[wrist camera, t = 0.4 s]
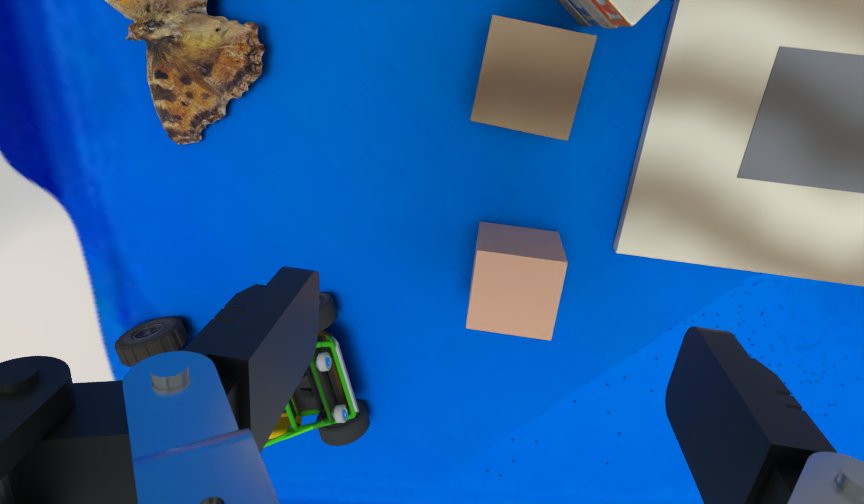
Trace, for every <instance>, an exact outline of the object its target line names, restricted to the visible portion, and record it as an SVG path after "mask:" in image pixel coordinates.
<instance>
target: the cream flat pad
mask: <svg viewBox="0 0 864 504" xmlns="http://www.w3.org/2000/svg"><path fill="white" fill-rule="evenodd" d="M613 248H614V250H615V252H616V253H620V254H627V255H635V256H642V257H650V258H657V259H664V260H672V261H679V262H687V263H694V264H702V265H709V266H716V267H724V268H731V269H739V270H746V271H754V272H761V273H769V274H776V275H783V276H791V277H798V278H806V279H813V280H821V281H828V282H835V283H843V284H850V285H858V286H864V0H674V4H673V8H672V12H671V16H670V20H669V24H668V28H667V32H666V36H665V40H664V44H663V48H662V52H661V56H660V60H659V64H658V68H657V72H656V76H655V80H654V84H653V88H652V92H651V96H650V100H649V104H648V108H647V113H646V117H645V121H644V125H643V129H642V133H641V137H640V141H639V145H638V149H637V153H636V157H635V161H634V165H633V169H632V173H631V177H630V181H629V185H628V189H627V193H626V197H625V201H624V205H623V209H622V213H621V217H620V221H619V225H618V229H617V233H616V237H615V241H614V245H613Z"/></svg>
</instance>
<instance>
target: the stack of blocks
mask: <svg viewBox="0 0 864 504" xmlns="http://www.w3.org/2000/svg"><path fill="white" fill-rule="evenodd" d="M558 1H559V2H560V3H561V4H562V6H563V7H564V8H565V9H566V10H567V11H568V12H569V13H570V14H571V15H572V17H573V18H574V19H575V20H576V21H577V22H578V23H579V24H580V25H581V26H591V25H592V26H602V27H603V28H613V29H614V28H618V27H619V26H626V27H631V26H634V25H635V24H636V23H637V22H638V21H639V20H640V19H641V18H642V17H643V16H644V15H645V14H646V13H647V12H648V11H649V10H650V9H651V8H652V7H653V6H654V5H655V4H656V3H657V2H658V1H659V0H558Z"/></svg>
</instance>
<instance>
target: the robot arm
mask: <svg viewBox="0 0 864 504" xmlns="http://www.w3.org/2000/svg"><path fill="white" fill-rule="evenodd" d="M318 320H319V274H318V272H317V271H313V270H306V269H299V268H292V267H285V266H284V267H282V268H281V269H280V270H279V271H278V272H277V274H276V275H275V276H274V277H273V278H272V279H271V280H270V282H269V283H268V284H267V285H266V286H265V285H258V284H256V285H254V286H252V287H249V288H247V289H245V290H243V291H241V292H239V293H237V294H236V295H235V296H234V297H233V298H232V299H231V300H230V301H229V302H228V303H227V304H226V305H225V307H224V309H221V311H220V312H219V313H218V314H217V315H216V316H215V318H214V320H213V319H212V320H211V321H210V322H209V323H208V324H207V325H206V326H205V327H204V328H203V329H202V330H201V331H200V332H199V333H198V335H197V336H196V337H195V338H194V339H193V340H192V341H191V342H190V343H189V344H188V345H187V346H186V347H185V348H184V349H183V350H182V351H173V352H166V353H161V354H157V355H154V356H151V357H149V358H146V359H144V360H142V361H140V362H139V363H137V364H136V365H134V366H133V367H132V368H131V369H130V370H129V371H128V372H127V373H126V375H125V376H124V379H123V380H121V381H108V382H88V383H72V378H71V373H70V368H69V366H68V365H67V364H66V363H65V362H64V361H62V360H60V359H57V358H54V357H47V356H31V357H22V358H16V359H12V360H8V361H5V362H2V363H0V504H280V502H279V500H278V497H277V495H276V492H275V490H274V487H273V485H272V482H271V480H270V477H269V475H268V472H267V470H266V467H265V465H264V462H263V460H262V457H261V455H260V453H261V451H262V450H263V448H264V446H265V444H266V442H267V440H268V439H269V437H270V435H271V433H272V431H273V430H274V428H275V426H276V424H277V422H278V421H279V419H280V417H281V415H282V413H283V411H284V410H285V408H286V406H287V404H288V402H289V401H290V399H291V397H292V395H293V393H294V391H295V390H296V388H297V386H298V384H299V382H300V381H301V379H302V377H303V375H304V373H305V371H306V370H307V368H308V366H309V364H310V362H311V360H312V358H313V356H314V353H315V349H316V345H317V339H318ZM665 404H666V413H667V416H668V419H669V421H670V424H671V426H672V428H673V431H674V433H675V435H676V438H677V440H678V443H679V445H680V447H681V450H682V452H683V454H684V457H685V459H686V461H687V464H688V466H689V468H690V471H691V473H692V476H693V478H694V480H695V483H696V485H697V487H698V490H699V492H700V494H701V497H702V499H703V502H704V504H864V462H863V461H860V460H858V459H855V458H853V457H850V456H847V455H843V454H840V453H837V452H836V450H835V449H834V448H833V446H832V445H831V444H830V443H829V441H828V440H827V439H826V437H825V436H824V435H823V434H822V432H821V431H820V430H819V428H818V427H817V426H816V425H815V423H814V422H813V421H812V419H811V418H810V417H809V416H808V414H807V413H806V412H805V411H802V407H801V405H800V404H799V403H798V402H797V400H796V399H795V398H794V396H790V391H789V390H788V389H787V387H786V386H785V385H784V384H783V382H782V381H781V380H780V378H779V377H778V376H777V375H776V374H775V373H773V372H772V371H771V370H769V369H768V368H767V367H765V366H764V365H763V364H761V363H760V362H759V361H757V360H756V359H753V358H750V357H749V355H748V354H747V352H746V351H745V350H744V348H743V347H742V346H741V344H740V343H739V342H738V340H737V339H736V338H735V336H734V335H733V334H732V333H731V332H728V331H721V330H714V329H707V328H700V327H691V328H689V329H688V330H687V332H686V334H685V336H684V339H683V342H682V345H681V348H680V350H679V353H678V356H677V359H676V362H675V365H674V368H673V371H672V374H671V377H670V380H669V383H668V387H667V391H666V400H665Z"/></svg>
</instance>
